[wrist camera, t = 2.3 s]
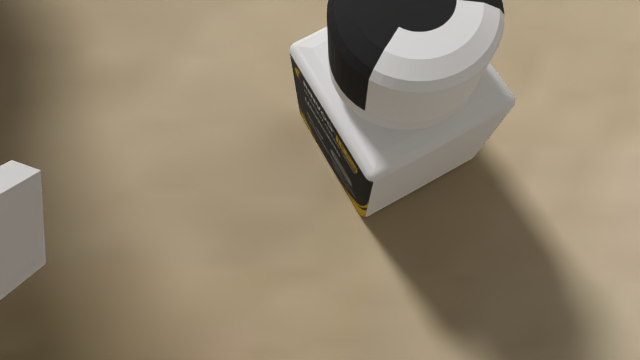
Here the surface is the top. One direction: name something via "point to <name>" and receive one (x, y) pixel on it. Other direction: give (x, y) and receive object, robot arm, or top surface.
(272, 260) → the top surface
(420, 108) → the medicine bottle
